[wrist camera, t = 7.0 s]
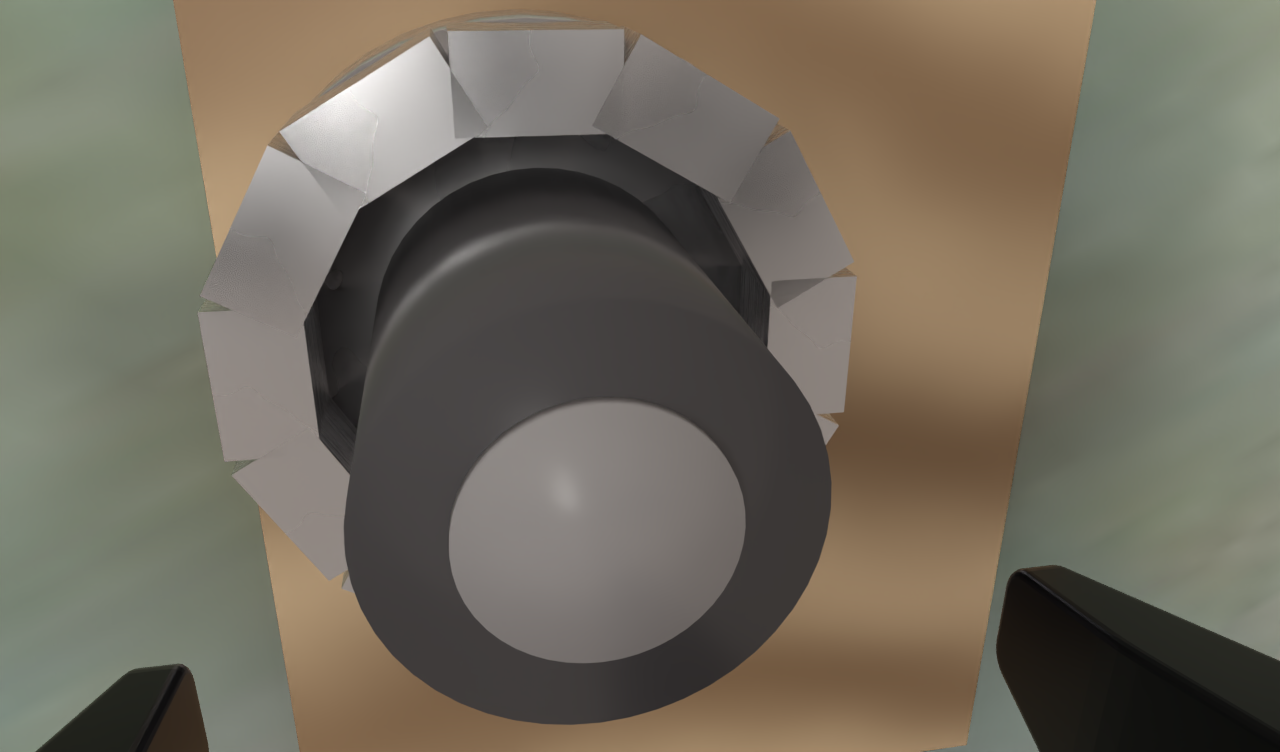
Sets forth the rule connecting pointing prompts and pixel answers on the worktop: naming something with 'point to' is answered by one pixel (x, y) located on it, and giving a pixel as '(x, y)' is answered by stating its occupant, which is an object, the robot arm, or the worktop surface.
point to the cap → (573, 460)
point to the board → (878, 361)
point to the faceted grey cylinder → (460, 154)
